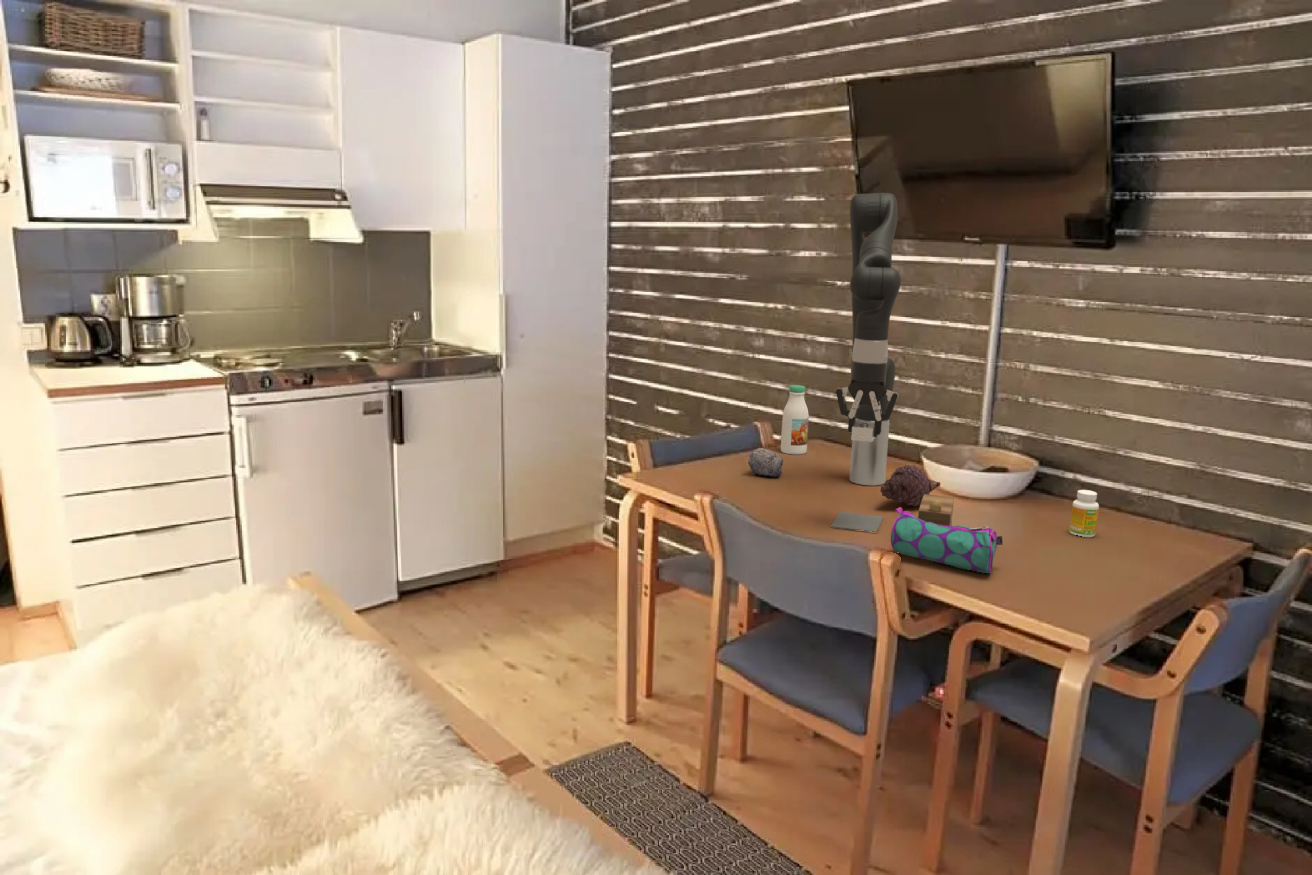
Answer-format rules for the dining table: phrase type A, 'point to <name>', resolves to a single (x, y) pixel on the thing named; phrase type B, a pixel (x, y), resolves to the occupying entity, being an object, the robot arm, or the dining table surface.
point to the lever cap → (863, 431)
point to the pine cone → (908, 485)
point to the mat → (857, 522)
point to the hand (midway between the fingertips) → (864, 435)
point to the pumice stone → (765, 462)
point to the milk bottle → (795, 422)
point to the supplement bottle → (1084, 514)
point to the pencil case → (945, 542)
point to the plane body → (936, 509)
